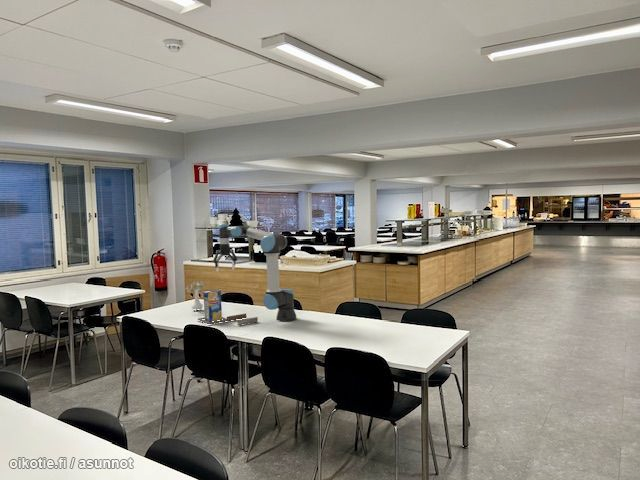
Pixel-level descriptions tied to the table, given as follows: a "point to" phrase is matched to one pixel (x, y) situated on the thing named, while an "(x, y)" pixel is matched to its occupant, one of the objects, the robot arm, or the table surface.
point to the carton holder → (243, 321)
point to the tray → (212, 322)
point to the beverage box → (212, 306)
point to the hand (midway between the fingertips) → (225, 270)
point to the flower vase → (196, 294)
